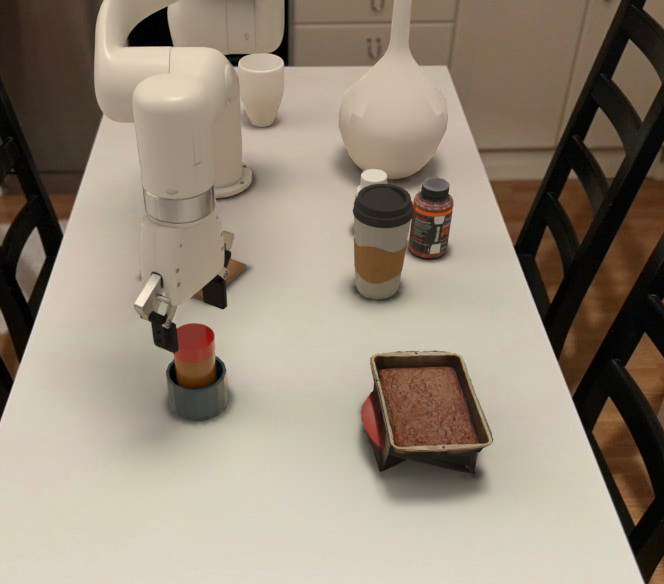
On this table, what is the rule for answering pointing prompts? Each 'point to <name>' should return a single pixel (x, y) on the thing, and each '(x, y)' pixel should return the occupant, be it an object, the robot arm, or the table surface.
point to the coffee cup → (380, 238)
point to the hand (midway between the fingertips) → (191, 326)
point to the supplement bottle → (431, 219)
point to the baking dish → (424, 411)
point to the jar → (195, 356)
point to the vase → (393, 109)
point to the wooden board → (234, 271)
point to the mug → (261, 86)
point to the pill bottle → (371, 179)
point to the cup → (198, 395)
